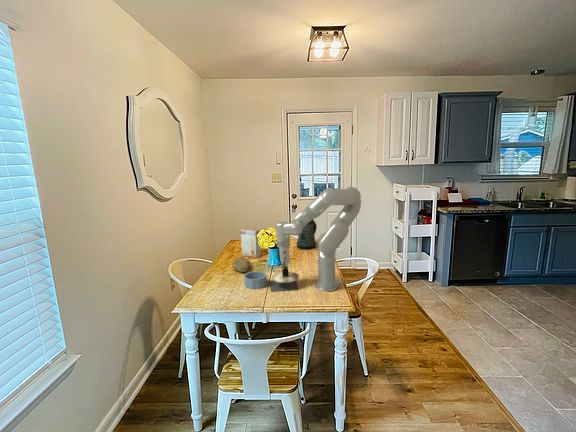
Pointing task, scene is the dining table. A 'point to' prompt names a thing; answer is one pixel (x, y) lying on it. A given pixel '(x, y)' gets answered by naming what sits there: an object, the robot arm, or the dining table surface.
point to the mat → (283, 286)
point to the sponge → (241, 264)
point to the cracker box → (250, 243)
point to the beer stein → (307, 237)
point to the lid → (285, 277)
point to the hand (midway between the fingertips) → (285, 274)
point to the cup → (255, 280)
